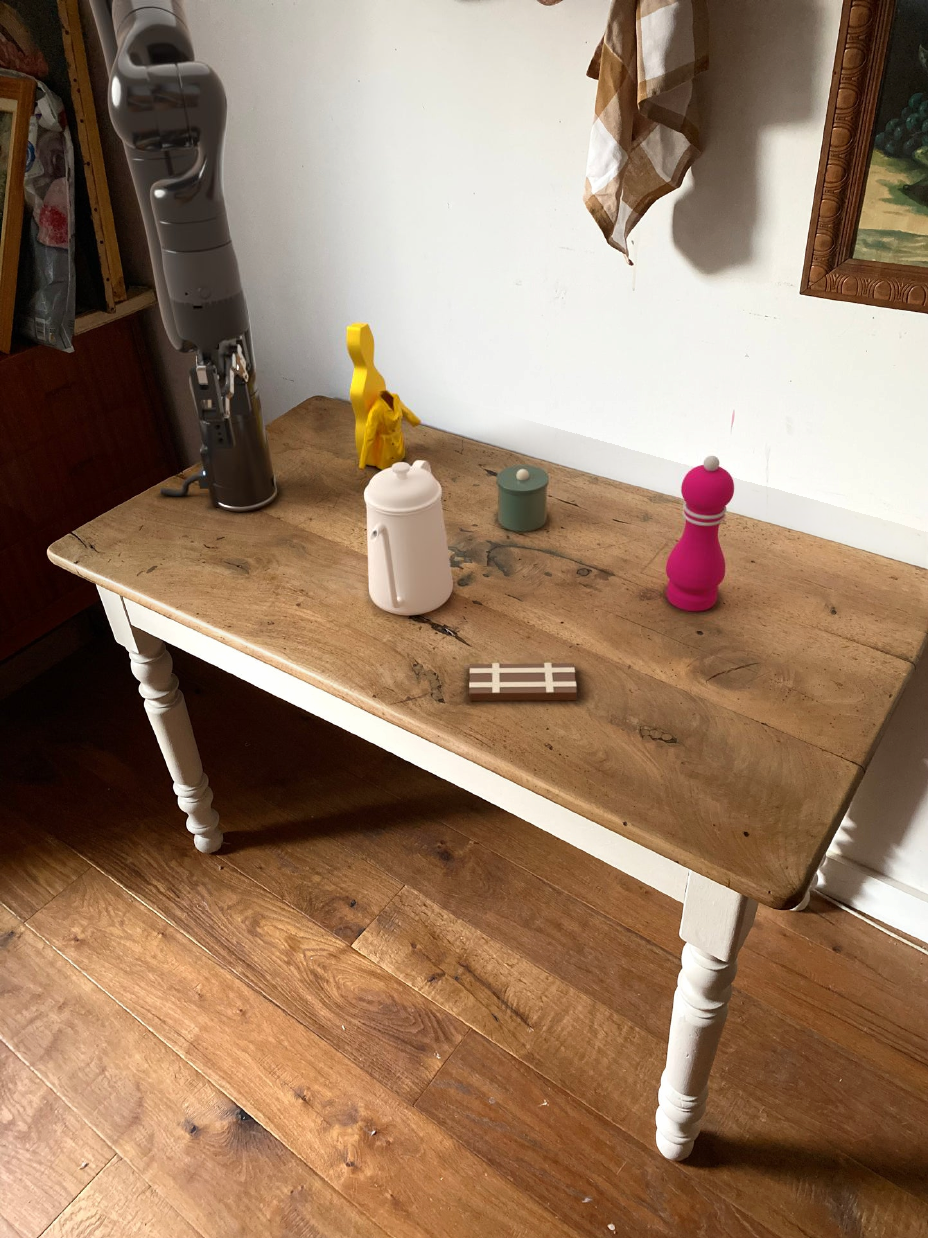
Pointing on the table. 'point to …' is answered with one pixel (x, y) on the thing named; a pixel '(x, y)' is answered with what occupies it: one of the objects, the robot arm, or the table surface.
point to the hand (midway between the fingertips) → (233, 430)
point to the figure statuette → (374, 405)
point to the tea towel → (522, 682)
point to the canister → (522, 497)
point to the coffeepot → (407, 540)
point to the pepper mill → (700, 538)
